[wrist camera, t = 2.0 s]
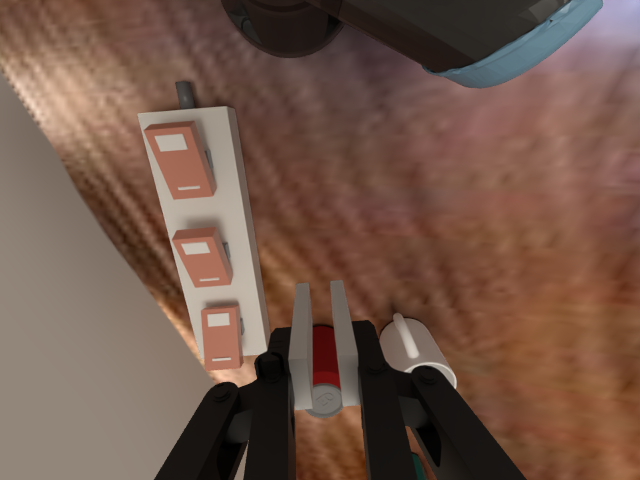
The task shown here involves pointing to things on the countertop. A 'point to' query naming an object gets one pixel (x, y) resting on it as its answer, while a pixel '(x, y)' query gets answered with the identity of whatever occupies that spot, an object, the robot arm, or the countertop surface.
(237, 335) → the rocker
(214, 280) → the rocker
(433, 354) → the mug
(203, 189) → the block
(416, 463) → the green bottle
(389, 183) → the countertop surface
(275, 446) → the robot arm
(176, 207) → the power strip
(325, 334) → the beverage can
